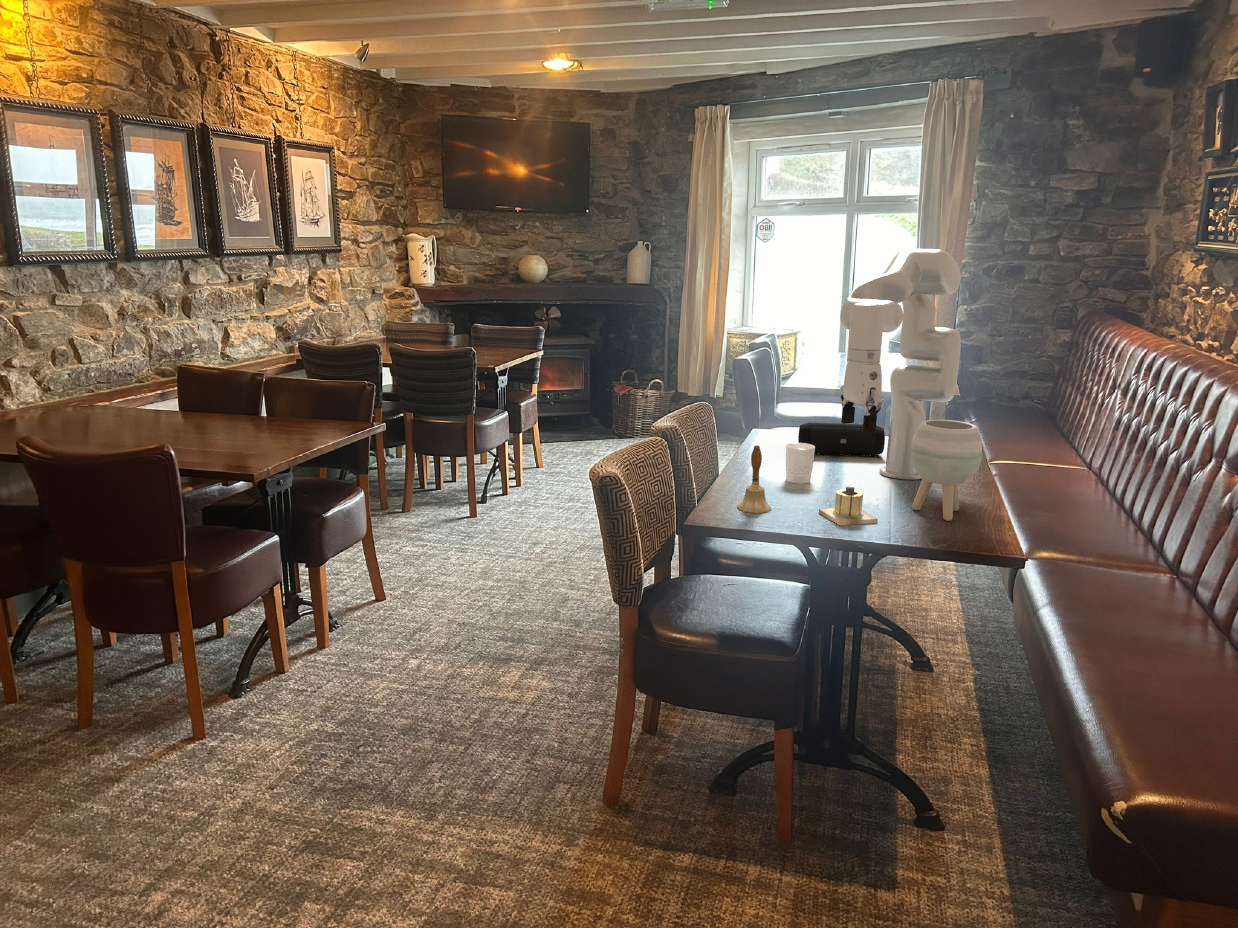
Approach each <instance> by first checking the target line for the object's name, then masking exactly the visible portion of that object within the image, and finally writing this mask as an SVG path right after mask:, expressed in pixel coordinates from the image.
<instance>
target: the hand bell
mask: <svg viewBox="0 0 1238 928" xmlns="http://www.w3.org/2000/svg"><path fill="white" fill-rule="evenodd" d="M762 456H763V455H762V451H761V447H760V445H754V446H753V449H752V453H751V455H750V462H751V468H752V478H751V481H752V483H751V484H750V485H748V486H746V488H745V493H744V497H743V498H742V500H741V502H739V503H738V505H737V506H736V507H737V509H738V510H739V511H741V512H745V513H749V514H765V513H769V512H771V511H772V507H771V505H770V504H769V503H768V501H767V499H766V493H765V488H764V486H762V485H761V484H760V469H761V467H762V466H761V465H762V461H763V460H762V459H763V457H762Z"/></svg>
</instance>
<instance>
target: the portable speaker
mask: <svg viewBox="0 0 1238 928" xmlns="http://www.w3.org/2000/svg"><path fill="white" fill-rule="evenodd" d="M797 437H798V439H797V440H798V442H797V443H806V444H811V445H814V446H815V452H814V455H823V456H824V455H825V456H827V455H829V456H850V457H853V456H854V457H876V456H878V455H882V454H883V452H884V450H885V445H886V444H885V443H886V442H885V441H886V432H885V429H884V427H881V426H879V425H877V424H876V431H875V432H863V423H861V424H860V423H845V424H843V423H839V422H838V423H836V422H835V423H834V422H833V423H831V422H806V423H805V422H804V423H802V424H800V425H799V429H798V436H797Z"/></svg>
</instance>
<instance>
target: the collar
mask: <svg viewBox="0 0 1238 928" xmlns="http://www.w3.org/2000/svg"><path fill="white" fill-rule="evenodd" d="M845 492H846V488H845V489H838V490H836V491H835V500H834V508H835V510H834V512H835V513H836V514H838V515H841V516H847V517H849V516H850V517H855V516H860V515H861V513H862V510H863V501H864V499H863V498H864V492H861V491H859V490H857V489H856V490H855V489H854V495H847V494H845Z"/></svg>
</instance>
